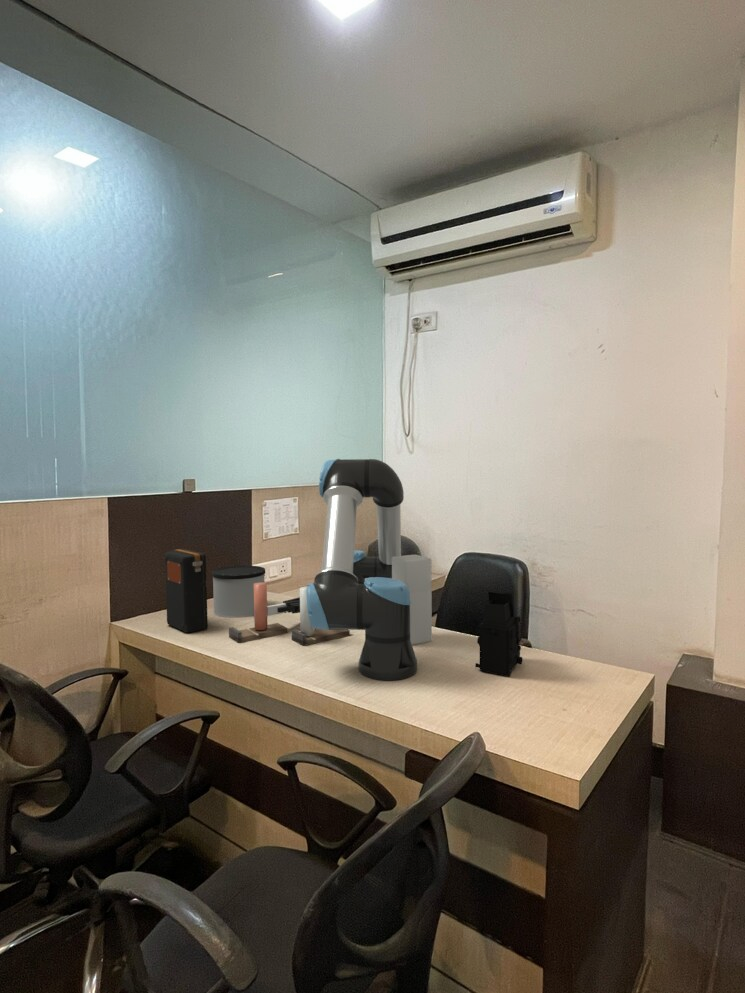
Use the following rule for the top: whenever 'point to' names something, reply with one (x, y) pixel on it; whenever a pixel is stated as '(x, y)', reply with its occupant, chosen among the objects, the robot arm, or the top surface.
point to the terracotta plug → (260, 606)
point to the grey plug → (304, 614)
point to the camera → (499, 635)
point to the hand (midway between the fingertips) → (266, 611)
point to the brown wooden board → (317, 636)
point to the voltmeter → (186, 590)
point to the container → (235, 590)
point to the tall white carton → (416, 593)
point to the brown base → (256, 632)
